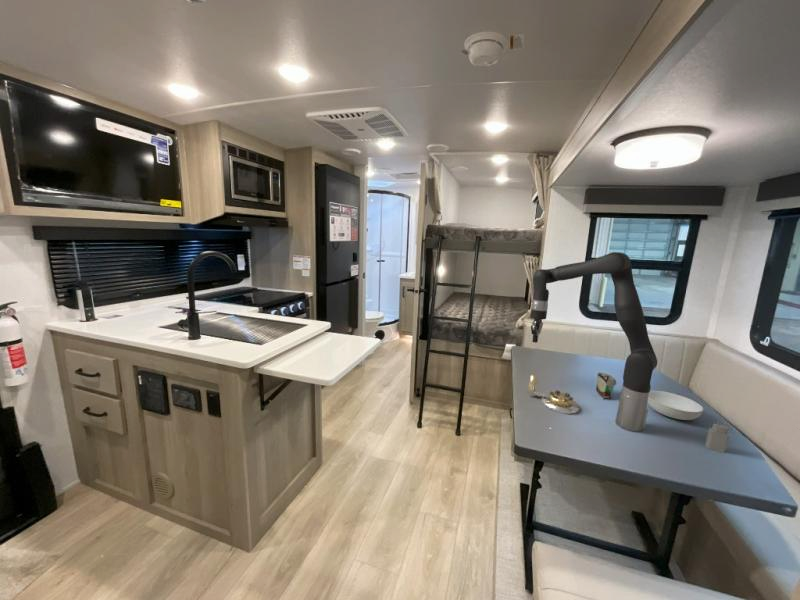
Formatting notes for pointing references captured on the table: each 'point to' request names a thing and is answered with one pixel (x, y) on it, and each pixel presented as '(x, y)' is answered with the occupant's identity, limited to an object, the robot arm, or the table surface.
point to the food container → (605, 385)
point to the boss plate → (559, 409)
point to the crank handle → (554, 397)
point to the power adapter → (717, 437)
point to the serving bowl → (674, 405)
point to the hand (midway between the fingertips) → (534, 342)
